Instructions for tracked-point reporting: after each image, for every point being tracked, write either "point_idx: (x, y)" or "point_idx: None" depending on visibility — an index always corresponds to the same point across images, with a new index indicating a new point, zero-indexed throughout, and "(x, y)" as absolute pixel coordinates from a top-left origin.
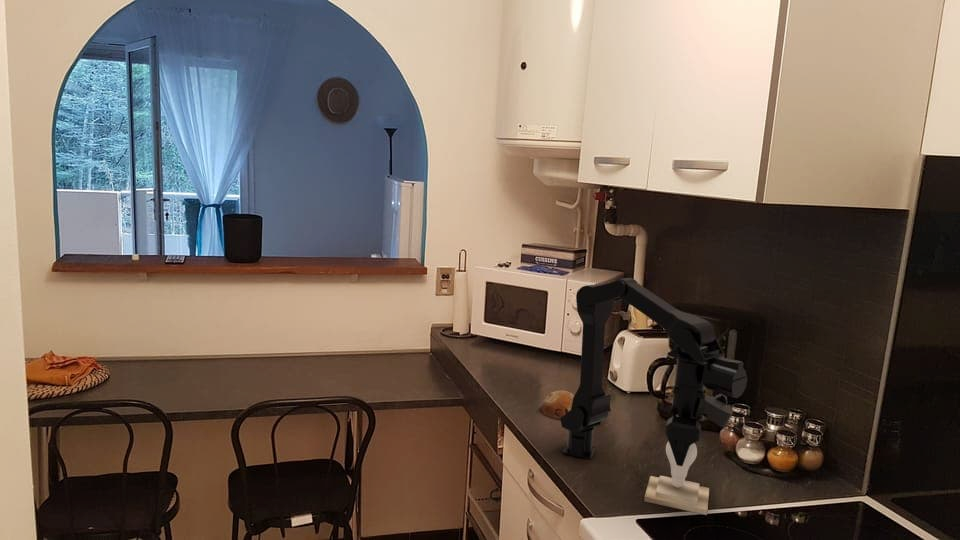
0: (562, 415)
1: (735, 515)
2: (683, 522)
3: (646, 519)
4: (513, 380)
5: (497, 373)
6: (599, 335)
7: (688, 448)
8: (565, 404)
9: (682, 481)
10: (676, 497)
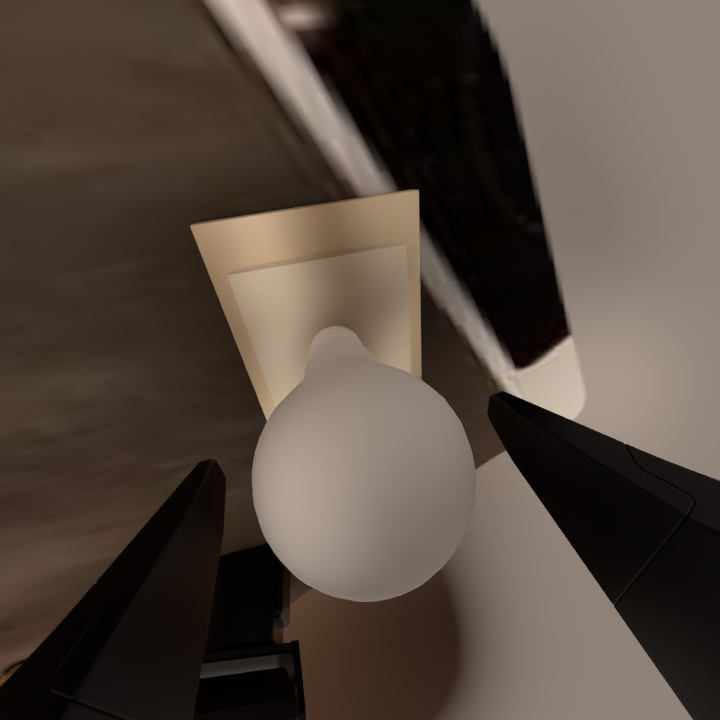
0: None
1: (342, 40)
2: (495, 257)
3: (511, 350)
4: None
5: None
6: None
7: (710, 477)
8: None
9: (355, 339)
10: (407, 321)
